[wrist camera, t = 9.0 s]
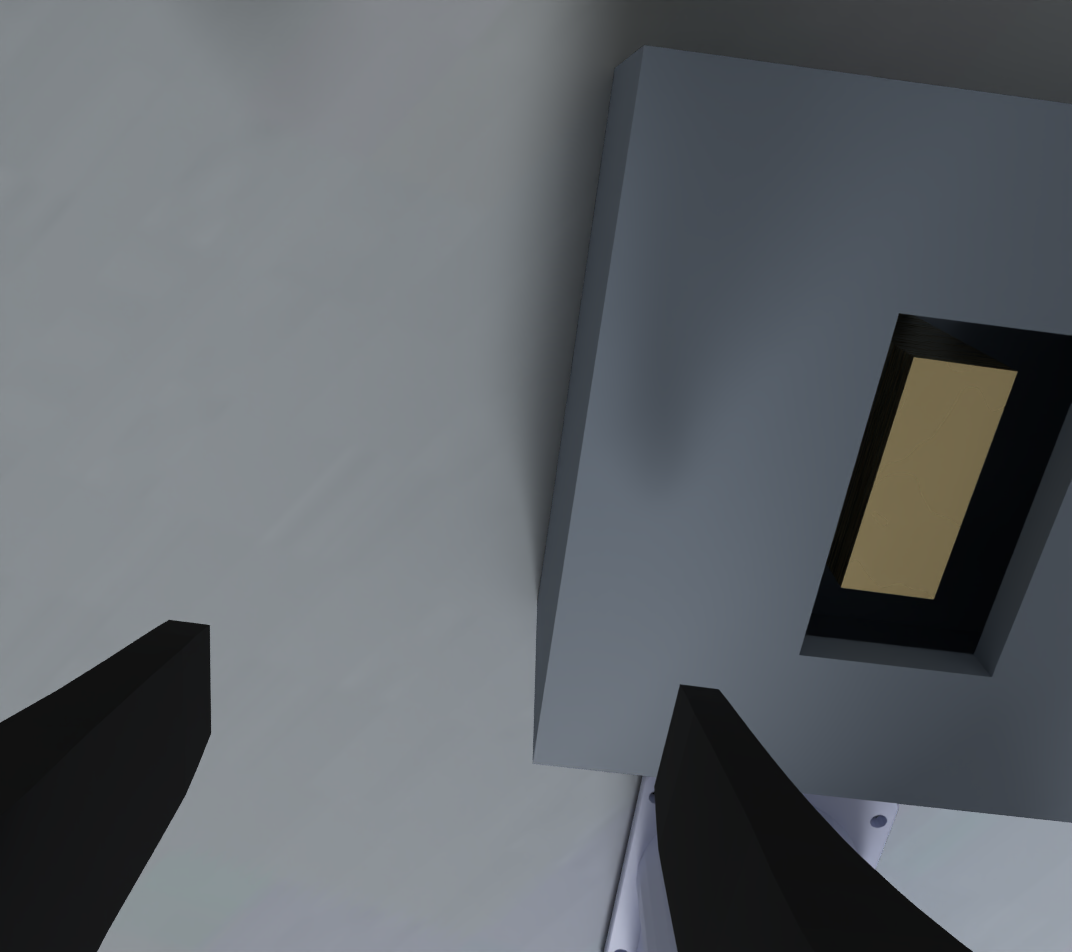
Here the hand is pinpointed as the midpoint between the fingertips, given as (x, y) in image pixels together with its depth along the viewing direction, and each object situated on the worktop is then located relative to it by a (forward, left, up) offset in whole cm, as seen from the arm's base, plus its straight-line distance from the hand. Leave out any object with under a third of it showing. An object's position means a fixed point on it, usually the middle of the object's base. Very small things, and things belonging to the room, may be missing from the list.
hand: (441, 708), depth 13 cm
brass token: (+3, -9, -10) cm, 14 cm away
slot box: (+3, -9, -10) cm, 14 cm away
